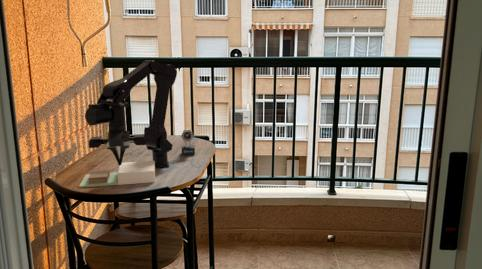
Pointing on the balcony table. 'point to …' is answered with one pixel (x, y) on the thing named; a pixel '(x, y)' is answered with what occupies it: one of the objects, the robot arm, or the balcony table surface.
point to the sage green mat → (112, 181)
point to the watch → (188, 143)
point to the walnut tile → (99, 176)
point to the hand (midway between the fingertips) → (120, 164)
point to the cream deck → (136, 172)
